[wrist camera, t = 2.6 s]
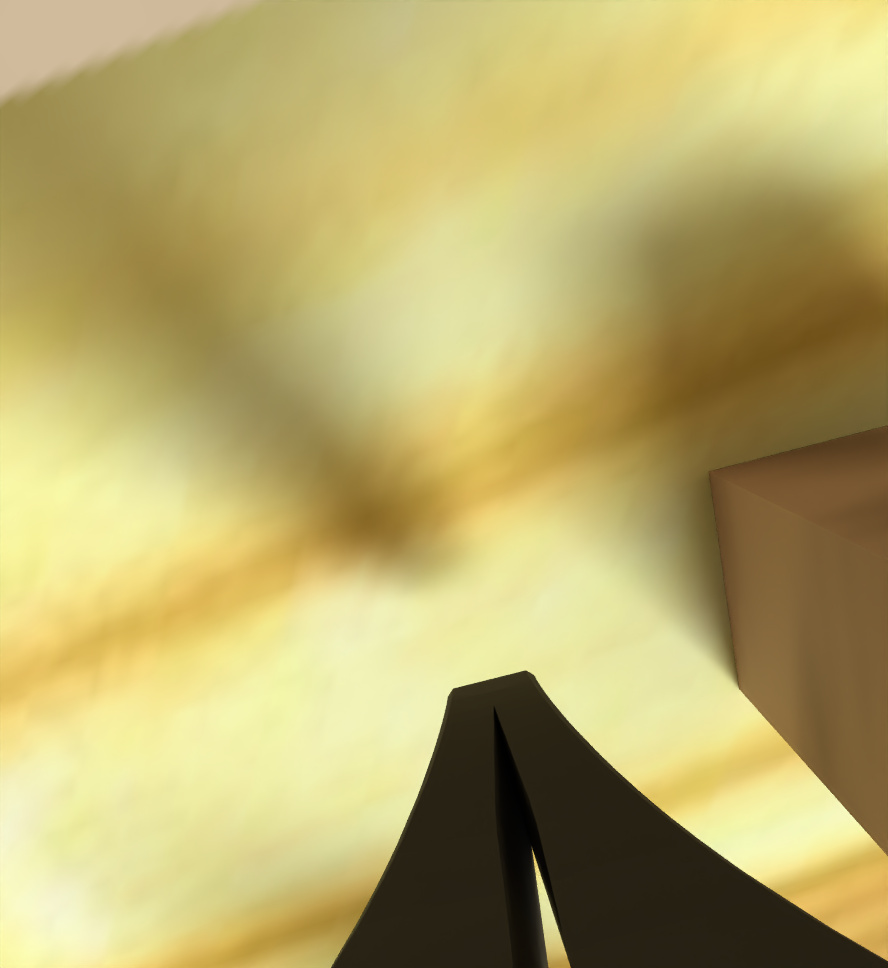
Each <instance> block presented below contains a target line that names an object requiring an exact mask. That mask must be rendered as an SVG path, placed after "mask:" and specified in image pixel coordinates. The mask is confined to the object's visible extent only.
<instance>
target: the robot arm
mask: <svg viewBox="0 0 888 968" xmlns="http://www.w3.org/2000/svg"><path fill="white" fill-rule="evenodd" d="M532 849H533V852H534V855H535V858H536V861H537V864H538V867H539V870H540V873H541V877H542V880H543V883H544V886H545V889H546V892H547V895H548V898H549V901H550V904H551V907H552V911H553V914H554V917H555V920H556V923H557V926H558V929H559V932H560V935H561V938H562V941H563V945H564V948H565V951H566V954H567V957H568V960H569V963H570V966H571V968H888V961H886V960H885V959H883V958H881V957H880V956H878V955H876V954H874V953H873V952H871V951H869V950H868V949H866V948H864V947H862V946H861V945H859V944H857V943H856V942H854V941H852V940H850V939H849V938H847V937H845V936H844V935H842V934H840V933H838V932H837V931H835V930H833V929H832V928H830V927H828V926H827V925H825V924H824V923H822V922H821V921H819V920H818V919H816V918H814V917H813V916H811V915H810V914H808V913H807V912H805V911H804V910H802V909H801V908H799V907H797V906H796V905H794V904H793V903H791V902H790V901H788V900H787V899H785V898H783V897H782V896H780V895H779V894H777V893H776V892H774V891H773V890H771V889H770V888H768V887H766V886H765V885H763V884H762V883H760V882H759V881H757V880H756V879H754V878H753V877H751V876H749V875H748V874H746V873H745V872H743V871H742V870H740V869H739V868H738V867H736V866H735V865H733V864H732V863H731V862H729V861H728V860H726V859H725V858H724V857H722V856H721V855H720V854H718V853H717V852H715V851H714V850H713V849H711V848H710V847H709V846H707V845H706V844H704V843H703V842H702V841H700V840H699V839H698V838H696V837H695V836H694V835H692V834H691V833H690V832H689V831H687V830H686V829H685V828H683V827H682V826H681V825H680V824H678V823H677V822H676V821H674V820H673V819H672V818H671V817H669V816H668V815H667V814H666V813H664V812H663V811H662V810H661V809H660V808H658V807H657V806H656V805H655V804H654V803H652V802H651V801H650V800H649V799H648V798H647V797H645V796H644V795H643V794H642V793H641V792H640V791H638V790H637V789H636V788H635V787H634V786H633V785H632V784H631V783H630V782H629V781H627V780H626V779H625V778H624V777H623V776H622V775H621V774H620V773H619V772H618V771H616V770H615V769H614V768H613V767H612V766H611V765H610V764H609V763H608V762H607V761H606V760H605V759H604V758H603V757H602V756H601V755H600V754H599V753H598V752H597V751H596V750H595V749H594V748H593V747H592V746H591V745H590V744H589V743H588V742H587V741H586V740H585V739H584V738H583V736H582V735H581V734H580V733H579V732H578V731H577V730H576V729H575V728H574V727H573V726H572V725H571V724H570V723H569V721H568V720H567V719H566V718H565V717H564V716H563V714H562V713H561V712H560V711H559V710H558V708H557V707H556V706H555V705H554V704H553V702H552V701H551V700H550V698H549V697H548V696H547V695H546V693H545V692H544V690H543V689H542V688H541V686H540V684H539V683H538V681H537V680H536V678H535V676H534V675H533V674H531V673H530V672H528V671H522V672H518V673H514V674H510V675H506V676H502V677H498V678H494V679H490V680H486V681H482V682H478V683H474V684H470V685H466V686H462V687H458V688H454V689H453V690H452V691H451V693H450V694H449V696H448V700H447V705H446V710H445V714H444V718H443V722H442V725H441V729H440V733H439V736H438V739H437V742H436V746H435V749H434V752H433V755H432V758H431V761H430V763H429V766H428V769H427V772H426V775H425V778H424V780H423V783H422V786H421V789H420V791H419V794H418V797H417V799H416V801H415V804H414V806H413V808H412V811H411V813H410V816H409V818H408V820H407V823H406V825H405V827H404V830H403V832H402V834H401V837H400V839H399V841H398V844H397V846H396V848H395V850H394V852H393V854H392V857H391V859H390V861H389V863H388V865H387V867H386V869H385V871H384V873H383V875H382V877H381V879H380V881H379V883H378V885H377V887H376V889H375V891H374V893H373V894H372V896H371V898H370V900H369V902H368V904H367V906H366V908H365V910H364V912H363V913H362V915H361V917H360V919H359V921H358V922H357V924H356V926H355V927H354V929H353V931H352V933H351V934H350V936H349V938H348V939H347V941H346V943H345V945H344V946H343V948H342V950H341V951H340V953H339V955H338V957H337V958H336V960H335V962H334V963H333V965H332V967H331V968H548V962H547V955H546V948H545V940H544V933H543V926H542V918H541V911H540V903H539V896H538V889H537V882H536V874H535V867H534V860H533V853H532Z"/></svg>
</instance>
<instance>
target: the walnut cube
mask: <svg viewBox="0 0 888 968" xmlns="http://www.w3.org/2000/svg"><path fill="white" fill-rule="evenodd" d="M709 476H710V484H711V491H712V498H713V505H714V512H715V519H716V526H717V533H718V540H719V547H720V555H721V562H722V569H723V576H724V583H725V590H726V597H727V604H728V611H729V618H730V626H731V633H732V640H733V647H734V654H735V661H736V668H737V675H738V682H739V689H740V690H741V692H742V693H743V694H744V695H745V696H746V697H747V698H748V699H749V701H750V702H751V703H752V704H753V705H754V706H755V707H756V708H757V709H758V711H759V712H760V713H761V714H762V715H763V716H764V717H765V718H766V720H767V721H768V722H769V723H770V724H771V725H772V726H773V727H774V729H775V730H776V731H777V732H778V733H779V734H780V735H781V736H782V738H783V739H784V740H785V741H786V742H787V743H788V744H789V745H790V747H791V748H792V749H793V750H794V751H795V752H796V753H797V754H798V756H799V757H800V758H801V759H802V760H803V761H804V762H805V763H806V765H807V766H808V767H809V768H810V769H811V770H812V771H813V772H814V774H815V775H816V776H817V777H818V778H819V779H820V780H821V781H822V783H823V784H824V785H825V786H826V787H827V788H828V789H829V790H830V792H831V793H832V794H833V795H834V796H835V797H836V798H837V799H838V800H839V802H840V803H841V804H842V805H843V806H844V807H845V808H846V809H847V811H848V812H849V813H850V814H851V815H852V816H853V817H854V818H855V820H856V821H857V822H858V823H859V824H860V825H861V826H862V827H863V829H864V830H865V831H866V832H867V833H868V834H869V835H870V836H871V838H872V839H873V840H874V841H875V842H876V843H877V844H878V845H879V847H880V848H881V849H882V850H883V851H884V852H885V853H886V854H887V856H888V426H884V427H880V428H876V429H872V430H869V431H865V432H861V433H857V434H853V435H849V436H845V437H841V438H837V439H834V440H830V441H826V442H822V443H818V444H814V445H810V446H806V447H802V448H799V449H795V450H791V451H787V452H783V453H779V454H775V455H771V456H767V457H764V458H760V459H756V460H752V461H748V462H744V463H740V464H736V465H732V466H729V467H725V468H721V469H717V470H713V471H709Z"/></svg>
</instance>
